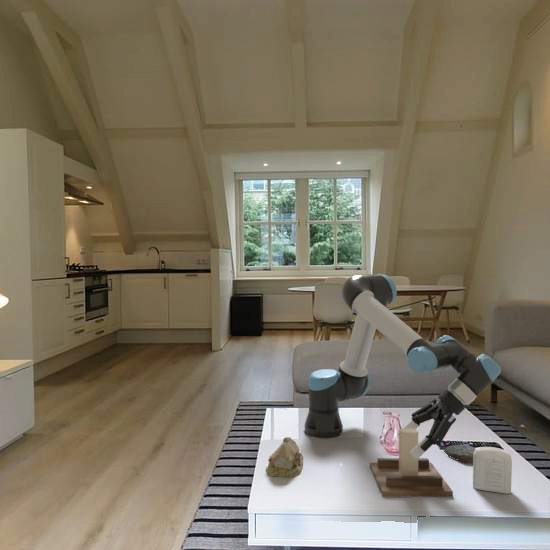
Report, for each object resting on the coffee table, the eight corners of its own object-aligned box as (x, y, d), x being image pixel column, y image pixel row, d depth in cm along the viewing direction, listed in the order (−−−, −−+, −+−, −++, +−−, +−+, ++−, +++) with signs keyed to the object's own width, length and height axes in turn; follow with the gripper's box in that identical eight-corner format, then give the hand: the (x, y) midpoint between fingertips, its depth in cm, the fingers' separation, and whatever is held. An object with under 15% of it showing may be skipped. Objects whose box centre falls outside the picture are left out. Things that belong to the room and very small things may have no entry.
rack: (369, 467, 143) (369, 454, 143) (431, 467, 143) (431, 454, 143) (382, 496, 125) (382, 482, 125) (452, 496, 125) (452, 482, 125)
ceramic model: (295, 481, 134) (295, 449, 134) (261, 475, 139) (261, 443, 138) (308, 461, 148) (308, 432, 147) (277, 456, 152) (277, 428, 151)
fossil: (472, 468, 143) (473, 456, 143) (438, 453, 154) (438, 442, 153) (490, 460, 148) (490, 449, 148) (455, 446, 159) (455, 436, 159)
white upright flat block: (509, 488, 129) (510, 447, 129) (512, 495, 125) (513, 453, 125) (471, 483, 132) (472, 442, 132) (473, 490, 128) (474, 448, 128)
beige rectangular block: (398, 473, 136) (398, 428, 135) (415, 473, 136) (415, 428, 135) (401, 478, 133) (401, 432, 132) (418, 478, 133) (418, 432, 132)
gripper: (484, 421, 120) (428, 474, 121) (449, 393, 145) (403, 438, 146) (464, 401, 120) (409, 455, 121) (433, 377, 145) (387, 422, 146)
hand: (406, 446), depth 133 cm, fingers open, 13 cm apart
